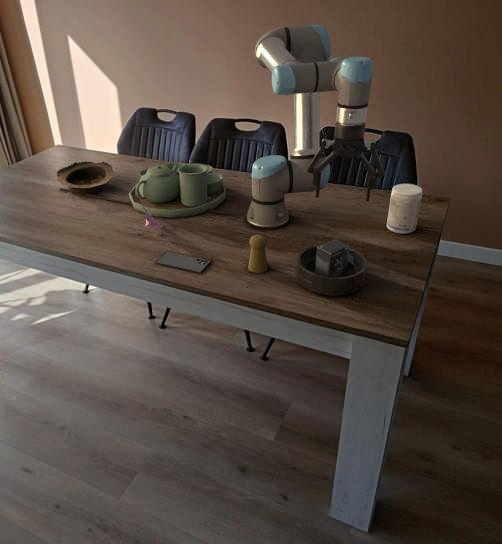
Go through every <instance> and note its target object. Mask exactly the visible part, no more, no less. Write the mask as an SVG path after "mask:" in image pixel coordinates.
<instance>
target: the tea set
mask: <svg viewBox="0 0 502 544" xmlns="http://www.w3.org/2000/svg"><path fill="white" fill-rule="evenodd" d="M138 175H139V177H140V179H139V181H138V182H137V183H136V184H135V186H134V187H133V188H132V189H131V190H130V191H129V193H128V195H129V196H128V197H129V199H130V203H132V204H133V205H132V206H133V208H134V210H137V211H139V212H141V213H142V214H145V211H144V209H143V207H144V208H145V209H146V210H147V211H148V213H149V214H151V215H152V217H162V218H181V217H189V216H197V215H200V214H202V213H206V212H205V211H207V210H215V209H216V208H217V207H218V206H220V204H221V203H222V202H223V201H224V200H226V197H227V191H226V185H225V182H223V180H224V176H223V175H222V174H220V173H215V172H214V167H213V166H211V165H209V164H202V163H184V162H172V163H167V164H165V165H161V164H158V165H154V166H151V167H149V168H144V169H142V170H140V171H139V172H138ZM142 206H143V207H142Z"/></svg>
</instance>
